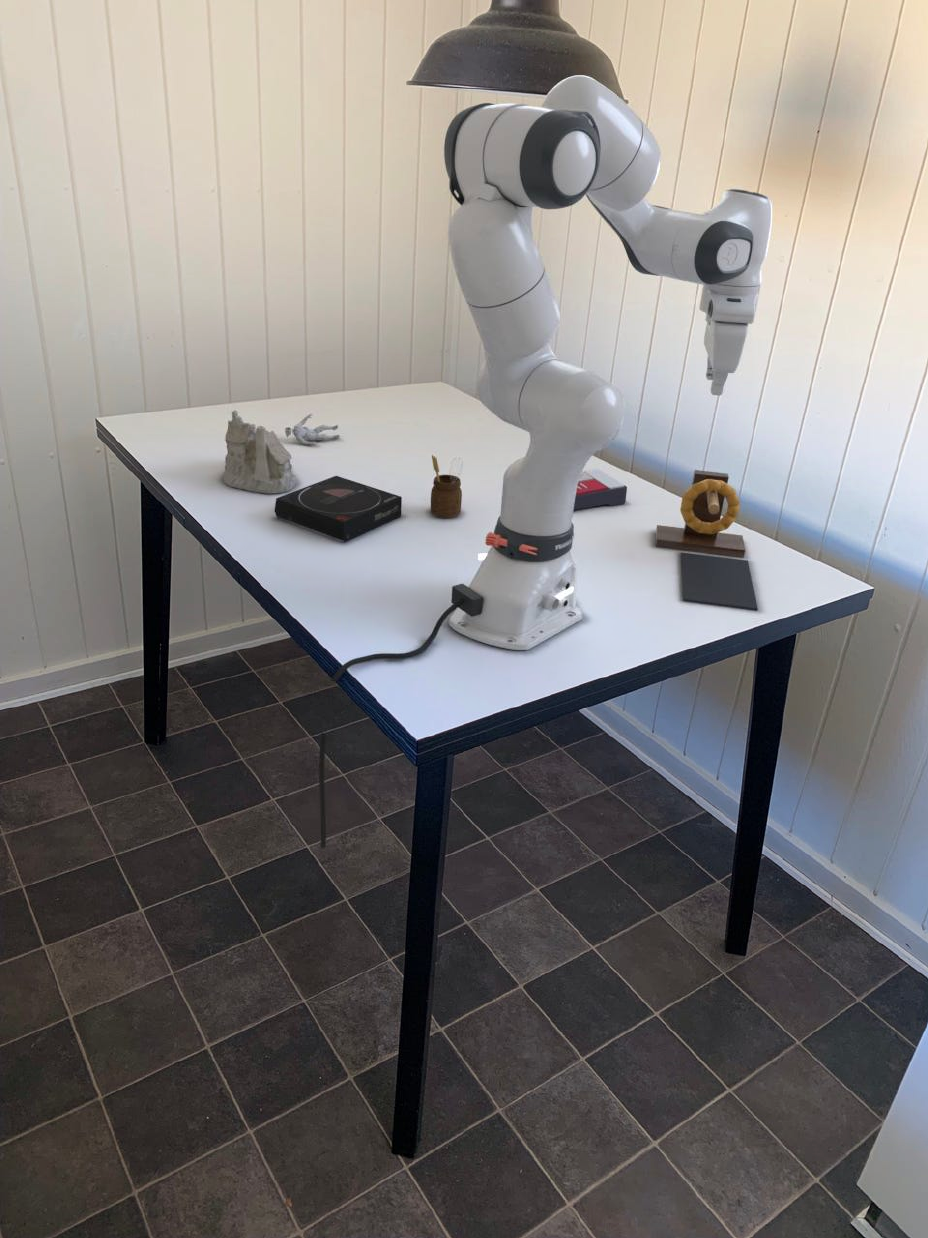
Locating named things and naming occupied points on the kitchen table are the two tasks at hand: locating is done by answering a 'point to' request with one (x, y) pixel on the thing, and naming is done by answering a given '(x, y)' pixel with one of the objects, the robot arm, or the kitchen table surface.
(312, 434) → the soldier figure
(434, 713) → the kitchen table surface
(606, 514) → the kitchen table surface
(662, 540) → the rack
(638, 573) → the kitchen table surface
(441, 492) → the utensil holder
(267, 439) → the ceramic cottage
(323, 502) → the portable cd player
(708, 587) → the mat
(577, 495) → the calculator
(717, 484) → the ring
